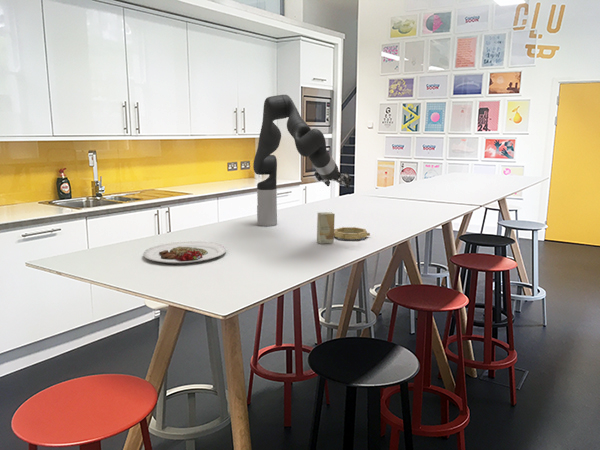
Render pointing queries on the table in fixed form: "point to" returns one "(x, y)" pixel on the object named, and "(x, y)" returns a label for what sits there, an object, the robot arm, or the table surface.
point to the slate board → (351, 239)
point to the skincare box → (325, 227)
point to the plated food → (184, 252)
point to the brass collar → (350, 233)
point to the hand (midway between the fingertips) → (338, 185)
